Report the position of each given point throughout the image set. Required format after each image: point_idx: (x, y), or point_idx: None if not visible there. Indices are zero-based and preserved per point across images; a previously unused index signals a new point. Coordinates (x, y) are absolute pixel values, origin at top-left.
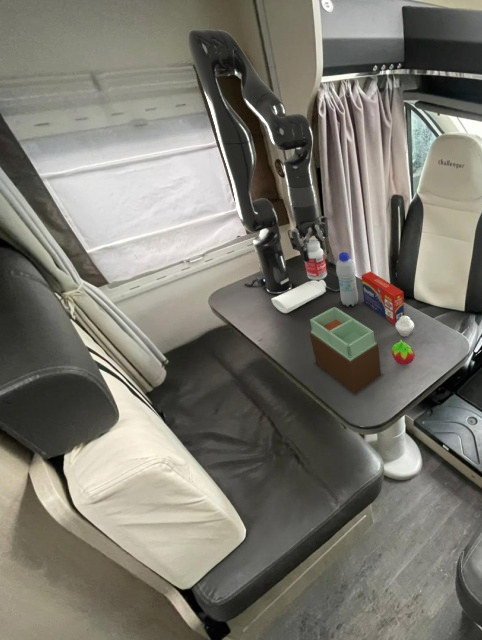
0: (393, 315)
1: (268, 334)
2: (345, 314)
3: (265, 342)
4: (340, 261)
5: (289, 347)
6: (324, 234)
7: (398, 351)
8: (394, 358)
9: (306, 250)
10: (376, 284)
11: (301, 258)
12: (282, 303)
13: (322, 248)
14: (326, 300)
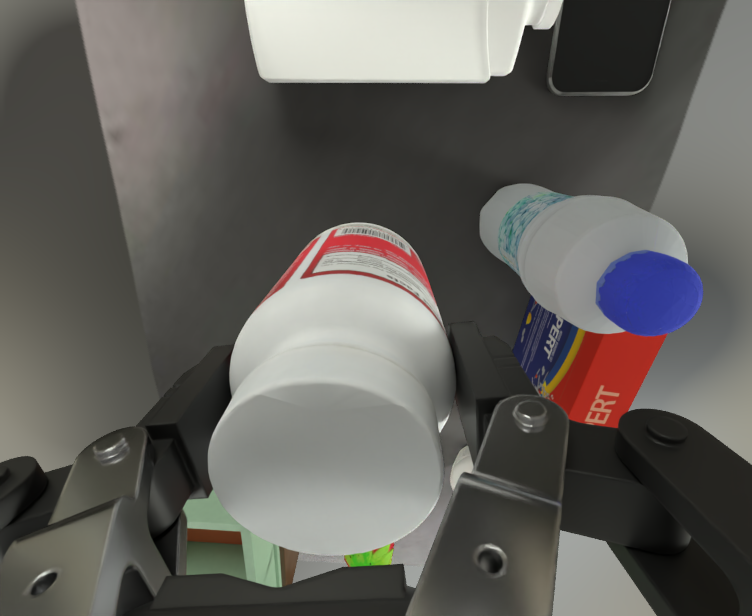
0: None
1: (154, 128)
2: (251, 574)
3: (127, 165)
4: (597, 276)
5: (186, 256)
6: (623, 539)
7: (350, 566)
8: None
9: (196, 497)
10: (569, 418)
11: (184, 378)
12: (252, 34)
13: (460, 416)
14: (467, 114)
